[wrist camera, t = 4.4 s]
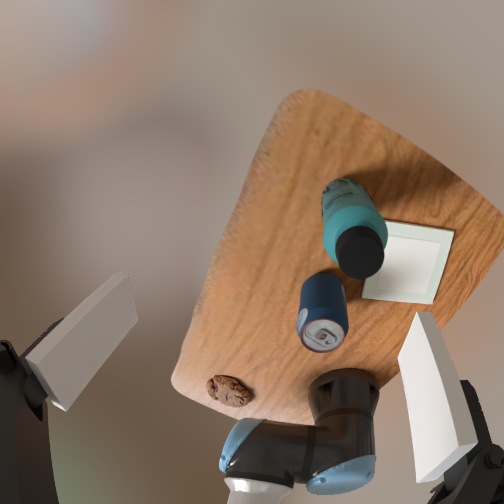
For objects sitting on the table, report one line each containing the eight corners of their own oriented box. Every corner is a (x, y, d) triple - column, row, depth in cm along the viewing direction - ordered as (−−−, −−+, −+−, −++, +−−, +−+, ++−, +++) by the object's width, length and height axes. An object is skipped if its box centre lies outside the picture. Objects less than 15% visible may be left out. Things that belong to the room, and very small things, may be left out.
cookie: (244, 406, 64) (241, 416, 61) (203, 390, 64) (199, 399, 62) (258, 385, 59) (255, 395, 57) (212, 367, 60) (208, 377, 57)
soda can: (292, 289, 47) (284, 337, 36) (322, 260, 44) (322, 305, 33) (323, 313, 48) (322, 363, 37) (353, 287, 45) (360, 335, 34)
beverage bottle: (374, 196, 38) (418, 256, 21) (343, 228, 41) (360, 308, 23) (341, 164, 38) (363, 200, 20) (310, 199, 41) (304, 261, 23)
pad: (430, 301, 43) (431, 304, 42) (361, 295, 45) (361, 298, 44) (452, 230, 37) (454, 232, 36) (377, 218, 40) (378, 220, 39)
